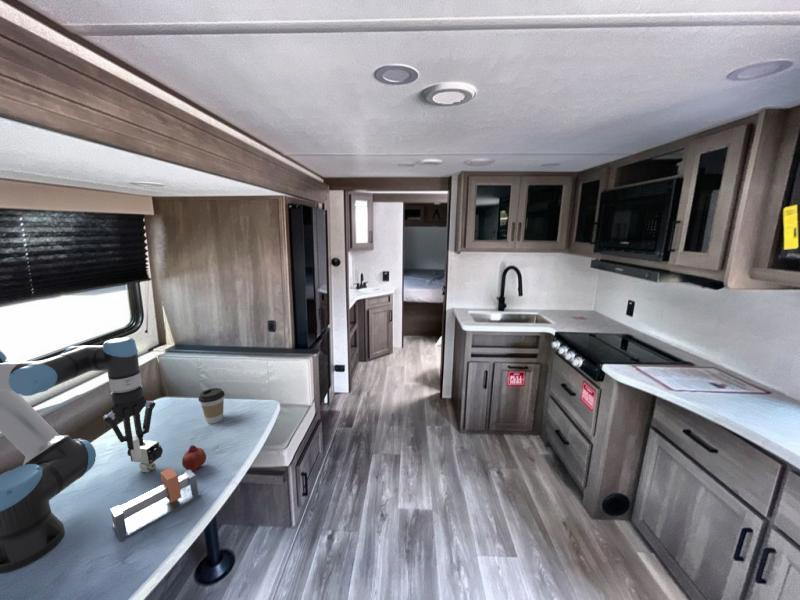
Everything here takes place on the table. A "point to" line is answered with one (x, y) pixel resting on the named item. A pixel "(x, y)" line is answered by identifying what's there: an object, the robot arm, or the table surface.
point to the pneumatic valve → (147, 455)
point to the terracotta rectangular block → (171, 484)
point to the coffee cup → (212, 404)
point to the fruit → (193, 458)
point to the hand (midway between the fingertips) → (137, 456)
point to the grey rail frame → (152, 507)
